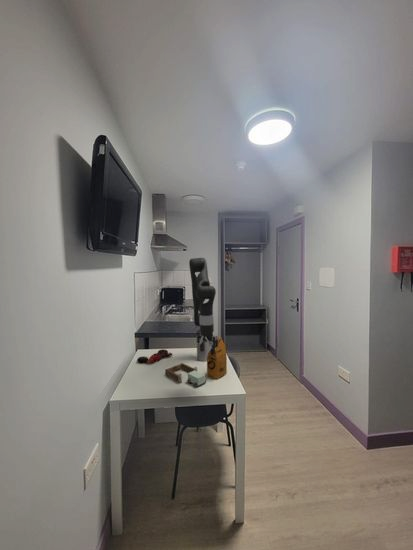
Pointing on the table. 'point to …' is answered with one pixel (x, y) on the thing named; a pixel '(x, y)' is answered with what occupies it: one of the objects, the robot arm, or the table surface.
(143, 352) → the table surface
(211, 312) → the robot arm
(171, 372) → the bay
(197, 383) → the cart
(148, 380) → the table surface
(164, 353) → the toy motorcycle
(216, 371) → the coffee package
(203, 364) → the table surface
